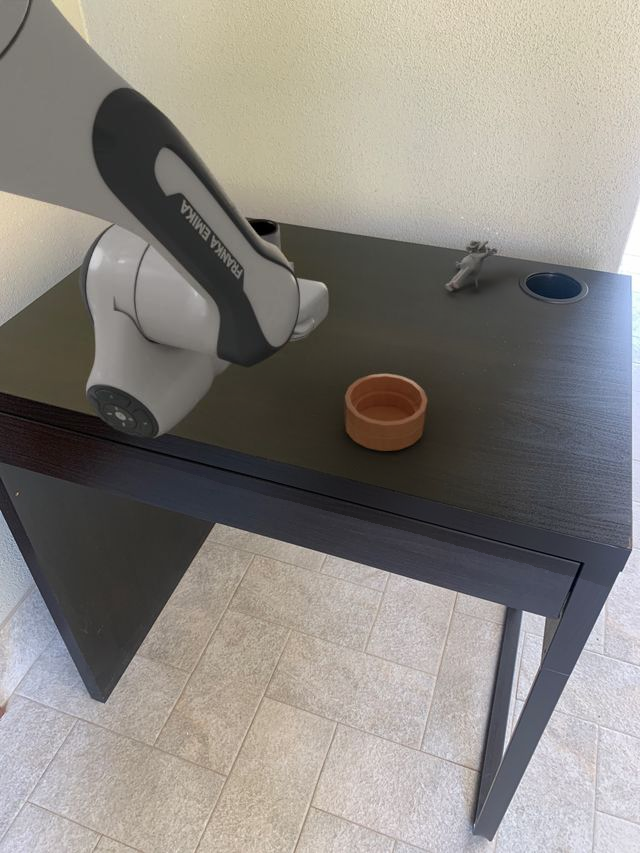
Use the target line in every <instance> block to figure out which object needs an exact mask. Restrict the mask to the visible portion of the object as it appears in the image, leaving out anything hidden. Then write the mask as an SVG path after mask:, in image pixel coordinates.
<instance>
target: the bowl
mask: <svg viewBox="0 0 640 853" xmlns="http://www.w3.org/2000/svg"><path fill="white" fill-rule="evenodd" d="M427 409H428V398H427V394H426V392H425V389H423V388H422V387H421V386H420V385H419V384H418V383H417V382H415V381H414V380H412V379H410V378H407V377H405V376H403V375H399V374H392V373H375V374H369V375H366V376H364V377H361V378H358V379H356V380H355V381H354V382H353V383H352V384H351V385H349V386H348V388H347V390H346V392H345V395H344V412H343V413H344V415H343V416H344V418H343V419H344V420H343V424H344V427H345V432H346V433H347V435H348V436H349V437H350V438H351V439H352V440H353V441H354V442H355V443H356V444H358V445H361V446H362V447H364V448H367V449H370V450H374V451H380V452H391V451H399V450H402V449H406V448H408V447H410V446H413V445H414V444H415V443H416V442H417V441H418V440H419V439H420V438H421V437H422V436H423V434H424V430H425V426H426V419H427V418H426V417H427Z"/></svg>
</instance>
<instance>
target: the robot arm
mask: <svg viewBox="0 0 640 853" xmlns="http://www.w3.org/2000/svg"><path fill="white" fill-rule="evenodd" d="M0 192H3V193H8V194H11V195H15V196H19V197H23V198H26V199H31V200H35V201H37V202H42V203H47V204H50V205H54V206H59V207H61V208H65V209H69V210H73V211H76V212H79V213H83V214H86V215H89V216H92V217H95V218H98V219H100V220H103V221H106V222H109V223H110V224H111V225H109V226H108V227H106V228H105V229H104V230H103V231H101V233H99V235H97V236H96V238H95V239H94V240H93V241H92V243H91V245H90V246H89V248H88V249H87V251H86V254H85V256H84V258H83V260H82V263H81V266H80V269H79V275H78V284H79V285H78V286H79V291H80V294H81V301H82V303H83V306H84V308H85V311H86V313H87V315H88V318H89V321H90V323H91V325H92V327H93V330H94V340H95V341H94V342H95V343H94V344H95V346H94V347H95V352H94V360H93V364H92V368H91V371H90V374H89V376H88V379H87V382H86V387H85V395H86V399H87V401H88V404H89V406H90V407H91V409H92V410H93V411H94V413H95V414H96V415H97V417H98V418H99V419H101V420H102V421H103V422H105V423H106V424H107V425H108V426H110V427H112V428H113V429H114V430H116V431H118V432H121V433H124V434H126V435H130V436H133V437H137V438H141V439H155V438H158V437H160V436H162V435H164V434H166V433H167V432H170V430H172V429H173V428H175V427H176V426H177V425H178V424H180V422H181V421H183V420H184V418H185V417H186V416H187V415H189V413H190V412H192V410H194V408H195V407H196V406H197V405H198V404H199V403H200V402H201V400H202V399H203V398H204V397H205V396H206V394H207V393H208V392H209V390H210V389H211V387H212V385H213V382H214V379H215V378H216V377H218V376H219V375H221V374H223V372H225V371H226V370H227V369H228V368H229V367H230V366H231V364H234V365H236V366H237V365H238V366H241V367H243V368H251V367H254V366H256V365H258V364H260V363H262V362H264V361H266V360H267V359H269V358H271V357H272V356H273V355H275V354H276V353H278V352H279V351H280V350H282V349H283V348H284V347H285V346H286V345H287V344H288V343H289V342H297V341H299V340H302V339H305V338H307V337H308V336H309V335H310V334H311V332H312V331H314V330H315V329H316V328H317V327H318V326H319V325H320V324H321V323H322V322H323V321H324V319H325V318H326V317H327V316H328V313H329V308H330V307H329V306H330V305H329V304H330V302H329V299H330V298H329V297H330V295H329V289H328V288H327V286H326V284H325V283H323V282H321V281H316V280H310V279H305V278H298V277H297V276H296V273H295V264H294V262H293V261H289V260H288V259H287V258H286V256H285V255H284V253H283V251H282V250H281V251H280V250H279V248H278V247H277V246H275V245H274V244H271V243H269V242H266V241H265V240H263V239H262V238H261V237H260V236H259V235H258V234H257V233H256V232H255V231H254V229H253V228H252V227H251V225H250V224H249V223H248V221H249V220H247V218H246V217H245V216H244V215H243V213H242V211H241V210H240V209H239V208H238V206H237V205H236V203H235V202H234V201H233V199H232V198H231V196H230V195H229V193H228V192H227V191H226V190H225V189H224V187H223V185H222V184H221V183H220V181H218V179H217V177H216V176H215V175H214V173H213V172H212V171H211V169H210V168H209V167H208V165H207V164H206V163H205V161H204V160H203V158H201V156H200V154H199V153H198V152H197V150H196V149H195V148H194V147H193V145H192V144H191V143H190V142H189V140H188V139H187V137H185V135H184V134H183V133H182V132H181V131H180V129H179V128H178V126H176V125H175V123H174V122H173V121H172V120H171V119H170V118H169V117H168V116H167V115H165V113H163V111H161V109H159V108H158V107H157V106H156V105H155V104H153V102H151V100H149V99H148V98H147V97H146V96H145V95H143V94H142V93H141V92H139V91H138V90H136V89H135V88H134V87H133V86H132V84H130V83H129V82H128V81H127V80H125V79H124V77H123V76H121V75H120V74H119V72H117V71H116V70H115V69H113V68H112V67H111V65H109V63H107V62H106V61H105V59H104V58H102V57H101V55H100V54H98V53H97V51H96V50H95V49H94V48H93V47H92V46H91V45H90V44H89V43H88V42H87V40H86V39H84V37H83V36H82V35H81V34H80V33H79V32H78V31H77V29H75V27H74V26H73V25H72V24H71V23H70V22H69V20H67V18H66V17H65V16H64V14H63V13H62V12H61V10H60V8H58V7H57V6H56V4H55V3H54V2H53V0H0Z"/></svg>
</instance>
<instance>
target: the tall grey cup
mask: <svg viewBox="0 0 640 853" xmlns="http://www.w3.org/2000/svg"><path fill="white" fill-rule="evenodd" d="M247 221H248V223H249V224H250V225H251V227H252V228H253V229H254V231H255V232H256V233H257V234H258V235H259V236H260V237H261V238H262V239H263V240H265V241H266V242H269V243H271V244H274V245H275V246H277V247H278V248H279V250H280V251H281V252H282V248H281V247H282V246H281V230H280V225H279V224H278V223H277V222H276V221H274V220H272V219H266V218H256V219H255V218H254V219H250V220H247Z"/></svg>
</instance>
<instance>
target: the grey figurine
mask: <svg viewBox="0 0 640 853" xmlns="http://www.w3.org/2000/svg"><path fill="white" fill-rule="evenodd" d="M487 244H489V241H488V240H483V241H482V242H481V241H479V240H477V241H476V240H468V242H467V244H466V242H463V247H464V249H465V251H468V253H469V255H467V256H465V257H464V258H463V259H462V260H461V262H458V261H455V267H456V268H457V269H460V270H459V271H458V272H457V274H456V275H455V276H453V277H452V279H451V280H450V282H448V283H446V284H445V285H444V287H445V288H446V290H448V291H449V292H451V293H452V292H453V291H454V290H455V289H459V290H460V288H461V287H462V285H463V284H464V282H465V280H466V279H467V278H469V277H472V278H474V282H475V286H476V288H478V280H479V273H480V271H481V269H482V267H483V264H484V260H485V259H486V258H487V257H490V256H493V255H495V254H497V253H498V249H497V248H495V247H494V248H490V247H489V246H486V245H487Z"/></svg>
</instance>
